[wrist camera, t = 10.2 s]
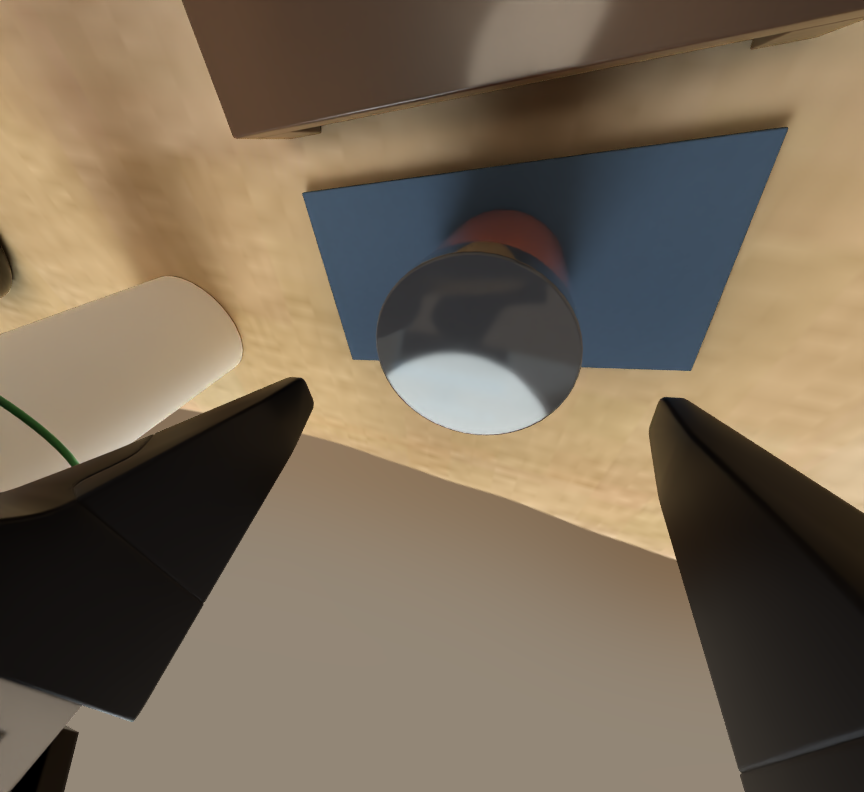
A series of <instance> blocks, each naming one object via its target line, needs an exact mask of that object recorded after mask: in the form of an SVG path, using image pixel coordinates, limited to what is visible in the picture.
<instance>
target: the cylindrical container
mask: <svg viewBox="0 0 864 792" xmlns="http://www.w3.org/2000/svg"><path fill="white" fill-rule="evenodd" d="M242 353H243V348H242V342H241V338H240V335H239V333H238V331H237V328H236V326H235V324H234V323H233V321H232V320H231V318H230V316H229V315H228V314H227V313H226V311H225V310H224V309H223V308H222V306H221V305H220V304H219V303H218V302H217V301H216V300H215V299H214V298H213V297H212V296H210V295H209V294H208V293H206V292H205V291H204V290H203V289H201V288H200V287H198V286H196V285H195V284H193V283H191V282H189V281H187V280H184V279H182V278H178V277H174V276H163V277H159V278H156V279H153V280H151V281H148V282H145V283H142V284H139V285H137V286H134V287H131V288H128V289H125V290H123V291H120V292H117V293H114V294H111V295H108V296H106V297H103V298H100V299H97V300H94V301H92V302H89V303H86V304H83V305H80V306H78V307H75V308H72V309H69V310H66V311H64V312H61V313H58V314H55V315H52V316H50V317H47V318H44V319H41V320H38V321H36V322H33V323H30V324H27V325H25V326H22V327H19V328H16V329H13V330H11V331H8V332H5V333H2V334H0V493H1V492H4V491H8V490H11V489H14V488H17V487H20V486H22V485H25V484H28V483H30V482H33V481H36V480H38V479H41V478H43V477H46V476H49V475H51V474H54V473H57V472H59V471H62V470H65V469H67V468H70V467H72V466H75V465H78V464H80V463H83V462H86V461H88V460H91V459H93V458H96V457H98V456H101V455H104V454H106V453H109V452H111V451H114V450H116V449H119V448H121V447H123V446H126V445H128V444H131V443H132V442H134V441H135V440H136V439H138V438H139V437H140V436H142V435H143V434H145V433H146V432H147V431H149V430H150V429H151V428H153V427H154V426H155V425H157V424H158V423H160V422H161V421H162V420H164V419H165V418H166V417H168V416H169V415H170V414H172V413H173V412H174V411H176V410H177V409H179V408H180V407H181V406H183V405H184V404H186V403H187V402H188V401H190V400H191V399H192V398H194V397H195V396H196V395H198V394H199V393H201V392H202V391H203V390H205V389H206V388H207V387H209V386H210V385H211V384H213V383H214V382H216V381H217V380H218V379H220V378H221V377H222V376H224V375H225V374H226V373H228V372H229V371H231V370H232V369H233V368H235V367H236V366H237V365H238V364H239V363H240V361H241V358H242Z"/></svg>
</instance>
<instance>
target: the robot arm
mask: <svg viewBox="0 0 864 792" xmlns="http://www.w3.org/2000/svg"><path fill="white" fill-rule="evenodd" d="M313 406H314V402H313V398H312V396H311V394H310V391H309V389H308V386H307V384H306V382H305V381H304V379H302V378H296V377H289V378H286V379H283V380H281V381H279V382H276V383H274V384H271V385H269V386H267V387H264V388H262V389H260V390H257V391H255V392H252V393H250V394H248V395H245V396H243V397H241V398H238V399H236V400H233V401H231V402H229V403H226V404H224V405H221V406H219V407H217V408H214V409H212V410H210V411H207V412H205V413H202V414H200V415H198V416H195V417H193V418H191V419H188V420H186V421H183V422H181V423H179V424H176V425H174V426H172V427H169V428H167V429H164V430H162V431H160V432H157V433H156V434H155V435H150V436H148V437H145V438H143V439H140V440H138V441H136V442H133V443H131V444H128V445H126V446H123V447H121V448H119V449H116V450H114V451H111V452H109V453H106V454H104V455H101V456H98V457H96V458H93V459H91V460H88V461H86V462H83V463H80V464H78V465H75V466H72V467H70V468H67V469H65V470H62V471H59V472H57V473H54V474H51V475H49V476H46V477H43V478H41V479H38V480H36V481H33V482H30V483H28V484H25V485H22V486H20V487H17V488H14V489H11V490H8V491H4V492H1V493H0V792H64V790H65V785H66V782H67V778H68V773H69V770H70V766H71V762H72V758H73V754H74V749H75V745H76V741H77V737H78V733H79V732H77V731H75V730H73V729H71V728H69V727H67V726H66V724H67V723H68V722H69V720H70V719H71V718H72V717H73V716H74V714H75V713H76V712H77V711H78V709H79V708H80V707H81V706H82V705H83V706H86V707H89V708H92V709H95V710H98V711H101V712H104V713H107V714H110V715H113V716H116V717H119V718H122V719H125V720H128V721H131V722H133V721H134V720H135V719H136V718H137V716H138V715H139V713H140V711H141V710H142V709H143V707H144V705H145V704H146V702H147V700H148V699H149V697H150V695H151V694H152V692H153V690H154V688H155V686H156V685H157V683H158V681H159V680H160V678H161V676H162V675H163V673H164V671H165V669H166V668H167V666H168V665H169V663H170V661H171V659H172V658H173V656H174V654H175V652H176V651H177V649H178V647H179V646H180V644H181V642H182V641H183V639H184V637H185V635H186V634H187V632H188V630H189V629H190V627H191V625H192V623H193V622H194V620H195V618H196V617H197V615H198V613H199V612H200V610H201V608H202V606H203V603H204V602H205V601H206V599H207V597H208V595H209V594H210V592H211V591H212V589H213V587H214V585H215V584H216V582H217V580H218V578H219V577H220V575H221V574H222V572H223V570H224V568H225V567H226V565H227V563H228V562H229V560H230V558H231V556H232V555H233V553H234V551H235V550H236V548H237V546H238V545H239V543H240V541H241V539H242V538H243V536H244V534H245V533H246V531H247V529H248V528H249V526H250V524H251V522H252V521H253V519H254V517H255V516H256V514H257V512H258V510H259V509H260V507H261V505H262V504H263V502H264V500H265V499H266V497H267V495H268V493H269V492H270V490H271V488H272V487H273V485H274V483H275V481H276V480H277V478H278V476H279V474H280V473H281V471H282V470H283V468H284V466H285V464H286V463H287V461H288V459H289V457H290V456H291V454H292V452H293V450H294V448H295V446H296V444H297V442H298V440H299V438H300V436H301V433H302V431H303V429H304V427H305V425H306V422H307V420H308V418H309V416H310V414H311V412H312V409H313ZM649 439H650V446H651V452H652V459H653V465H654V472H655V479H656V485H657V491H658V496H659V501H660V505H661V508H662V512H663V515H664V519H665V522H666V525H667V529H668V532H669V536H670V539H671V542H672V546H673V549H674V552H675V556H676V559H677V563H678V566H679V569H680V573H681V576H682V580H683V583H684V586H685V590H686V593H687V596H688V600H689V603H690V606H691V610H692V613H693V617H694V620H695V623H696V627H697V630H698V634H699V637H700V640H701V644H702V647H703V651H704V654H705V657H706V661H707V664H708V668H709V671H710V674H711V678H712V681H713V685H714V688H715V691H716V695H717V698H718V701H719V705H720V708H721V712H722V715H723V718H724V721H725V725H726V729H727V732H728V735H729V739H730V742H731V745H732V749H733V752H734V755H735V759H736V762H737V765H738V769H739V771H740V772H741V775H740V777H741V780H742V784H743V787H744V791H745V792H864V513H863V512H861V511H860V510H858V509H856V508H855V507H853V506H852V505H850V504H849V503H847V502H845V501H844V500H842V499H841V498H839V497H838V496H836V495H835V494H833V493H831V492H830V491H828V490H827V489H825V488H824V487H822V486H821V485H819V484H817V483H816V482H814V481H813V480H811V479H810V478H808V477H807V476H805V475H803V474H802V473H800V472H799V471H797V470H796V469H794V468H793V467H791V466H789V465H788V464H786V463H785V462H783V461H782V460H780V459H779V458H777V457H775V456H774V455H772V454H771V453H769V452H768V451H766V450H765V449H763V448H761V447H760V446H758V445H757V444H755V443H754V442H752V441H750V440H749V439H747V438H746V437H744V436H743V435H741V434H740V433H738V432H736V431H735V430H733V429H732V428H730V427H729V426H727V425H726V424H724V423H722V422H721V421H719V420H718V419H716V418H715V417H713V416H712V415H710V414H708V413H707V412H705V411H704V410H702V409H701V408H699V407H698V406H696V405H694V404H693V403H691V402H690V401H688V400H686V399H684V398H671V397H664V398H662V399H660V401H659V402H658V405H657V407H656V410H655V413H654V416H653V419H652V421H651V424H650V428H649Z"/></svg>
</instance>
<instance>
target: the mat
mask: <svg viewBox="0 0 864 792" xmlns="http://www.w3.org/2000/svg"><path fill="white" fill-rule="evenodd" d="M787 130H788V127H781V128H773V129H766V130H758V131H751V132H744V133H736V134H729V135H722V136H714V137H707V138H700V139H692V140H685V141H678V142H670V143H663V144H656V145H648V146H641V147H633V148H626V149H619V150H611V151H604V152H597V153H589V154H582V155H575V156H567V157H560V158H553V159H545V160H538V161H531V162H523V163H516V164H508V165H501V166H494V167H486V168H479V169H472V170H464V171H457V172H450V173H442V174H435V175H428V176H420V177H413V178H406V179H398V180H391V181H383V182H376V183H369V184H361V185H354V186H347V187H339V188H332V189H325V190H317V191H310V192H304V193H302V194H303V198H304V201H305V204H306V208H307V211H308V214H309V217H310V221H311V224H312V227H313V231H314V234H315V237H316V240H317V244H318V247H319V250H320V253H321V257H322V260H323V263H324V267H325V270H326V273H327V276H328V280H329V283H330V286H331V290H332V293H333V296H334V299H335V303H336V306H337V309H338V313H339V316H340V319H341V322H342V326H343V329H344V332H345V336H346V339H347V342H348V345H349V349H350V352H351V355H352V359H353V360H379V358H378V352H377V347H376V329H377V321H378V317H379V313H380V310H381V308H382V305H383V303H384V300H385V299H386V297H387V295H388V294H389V292H390V290H391V289H392V288H393V287H394V286H395V284H396V283H397V282H398V281H399V280H400V279H401V278H402V277H403V276H404V275H405V274H406V273H407V272H408V271H409V270H410V269H411V268H412V267H413V266H415V265H416V264H417V263H418V262H419V261H420V260H422V259H423V258H425V257H426V256H428V255H429V254H431V253H432V252H433V251H434V250H435V249H436V248H437V247H438V246H439V245H440V244H441V243H442V242H443V241H444V240H445V239H446V238H447V237H448V236H449V235H450V234H451V233H452V232H453V231H454V230H455V229H456V228H457V227H458V226H460V225H461V224H462V223H463V222H465V221H466V220H468V219H469V218H471V217H473V216H475V215H477V214H480V213H483V212H486V211H491V210H500V209H508V210H516V211H520V212H523V213H526V214H528V215H531V216H533V217H535V218H536V219H538V220H539V221H541V222H542V223H544V224H545V225H546V226H547V227H548V228H549V229H550V230H551V231H552V233H553V234H554V235H555V236H556V238H557V240H558V241H559V243H560V245H561V248H562V250H563V252H564V256H565V261H566V266H567V272H568V278H569V285H570V291H571V296H572V299H573V301H574V304H575V306H576V309H577V313H578V317H579V322H580V328H581V333H582V341H583V357H582V365H581V367H591V368H621V369H651V370H681V371H691V369H692V367H693V364H694V362H695V359H696V357H697V354H698V352H699V349H700V347H701V344H702V342H703V339H704V337H705V334H706V332H707V330H708V327H709V325H710V322H711V320H712V317H713V315H714V312H715V310H716V307H717V305H718V302H719V300H720V297H721V295H722V292H723V290H724V287H725V285H726V282H727V280H728V277H729V275H730V272H731V270H732V267H733V265H734V262H735V260H736V257H737V255H738V252H739V250H740V247H741V245H742V242H743V240H744V237H745V235H746V232H747V230H748V227H749V225H750V222H751V220H752V217H753V215H754V213H755V210H756V208H757V205H758V203H759V200H760V198H761V195H762V193H763V190H764V188H765V185H766V183H767V180H768V178H769V175H770V173H771V170H772V168H773V165H774V163H775V160H776V158H777V155H778V153H779V150H780V148H781V145H782V143H783V140H784V138H785V135H786V133H787Z"/></svg>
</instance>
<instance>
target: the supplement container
mask: <svg viewBox="0 0 864 792" xmlns="http://www.w3.org/2000/svg"><path fill="white" fill-rule="evenodd" d="M11 285H12V273H11V268H10V265H9V262H8V260H7V257H6V255H5V253H4V251H3V249H2V247H1V246H0V298H2V297H3V296H5V295H6V294H7V293H8V292H9V290H10V288H11Z"/></svg>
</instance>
